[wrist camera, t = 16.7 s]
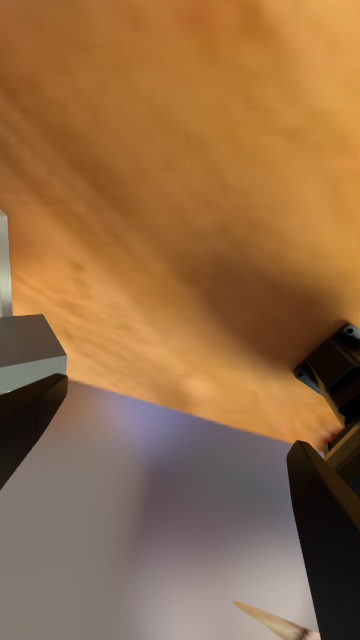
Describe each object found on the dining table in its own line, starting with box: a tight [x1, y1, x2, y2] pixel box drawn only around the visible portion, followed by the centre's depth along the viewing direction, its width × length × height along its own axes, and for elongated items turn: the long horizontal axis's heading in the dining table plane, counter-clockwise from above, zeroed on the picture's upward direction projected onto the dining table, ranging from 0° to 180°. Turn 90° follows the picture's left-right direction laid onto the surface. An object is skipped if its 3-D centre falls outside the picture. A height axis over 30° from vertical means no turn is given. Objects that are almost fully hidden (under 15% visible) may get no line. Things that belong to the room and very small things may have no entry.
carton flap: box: [0, 209, 67, 393], centre depth 17 cm, size 3×13×15 cm
